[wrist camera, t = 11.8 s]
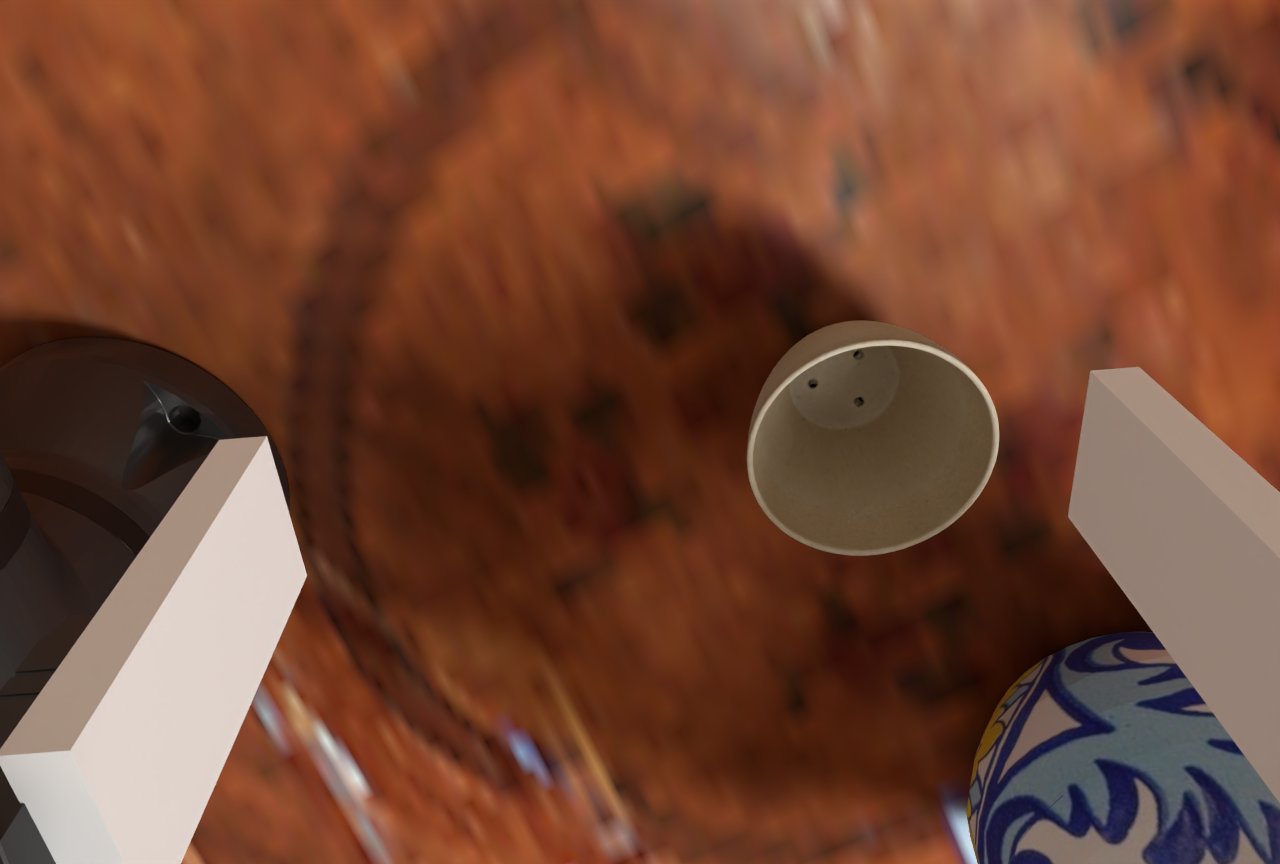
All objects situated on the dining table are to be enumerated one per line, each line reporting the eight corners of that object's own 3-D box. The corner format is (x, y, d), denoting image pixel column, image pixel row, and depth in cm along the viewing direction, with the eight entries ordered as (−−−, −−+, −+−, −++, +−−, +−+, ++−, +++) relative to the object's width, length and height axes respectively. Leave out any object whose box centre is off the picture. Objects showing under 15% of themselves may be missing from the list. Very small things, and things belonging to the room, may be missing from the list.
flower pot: (706, 313, 45) (717, 384, 38) (928, 245, 43) (978, 307, 37) (764, 493, 49) (782, 583, 43) (967, 437, 48) (1017, 521, 41)
